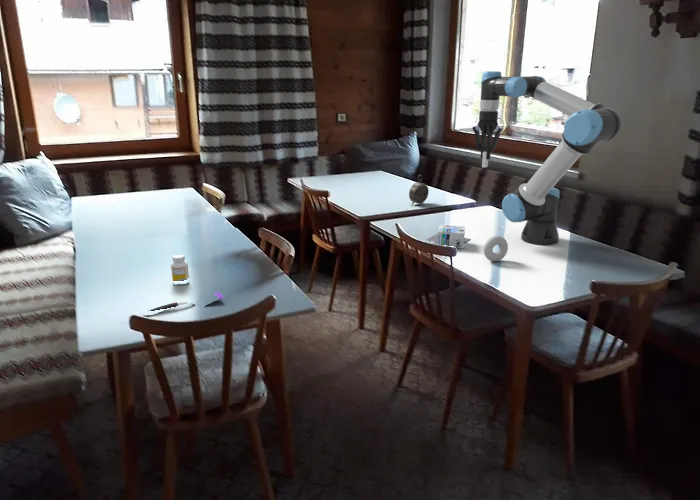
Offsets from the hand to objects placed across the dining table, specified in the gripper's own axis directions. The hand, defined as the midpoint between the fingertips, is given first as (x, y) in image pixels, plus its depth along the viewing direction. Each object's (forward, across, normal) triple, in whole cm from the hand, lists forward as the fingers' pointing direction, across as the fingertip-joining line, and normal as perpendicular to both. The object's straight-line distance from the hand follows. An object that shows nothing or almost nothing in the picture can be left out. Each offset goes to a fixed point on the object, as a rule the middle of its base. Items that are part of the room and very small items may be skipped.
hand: (484, 166), depth 239 cm
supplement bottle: (+30, +59, +116) cm, 133 cm away
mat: (+29, +6, +20) cm, 36 cm away
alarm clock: (+30, +47, -29) cm, 63 cm away
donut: (+30, -20, +32) cm, 48 cm away
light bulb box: (+26, -2, +21) cm, 33 cm away
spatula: (+30, +42, +128) cm, 138 cm away
